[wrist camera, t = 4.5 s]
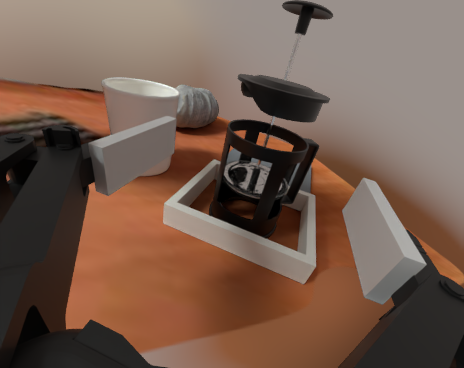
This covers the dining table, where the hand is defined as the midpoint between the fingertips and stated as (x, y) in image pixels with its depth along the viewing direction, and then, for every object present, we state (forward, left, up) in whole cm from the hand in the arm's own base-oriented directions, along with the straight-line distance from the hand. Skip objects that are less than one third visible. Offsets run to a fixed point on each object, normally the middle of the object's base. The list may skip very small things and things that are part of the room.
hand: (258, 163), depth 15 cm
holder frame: (+10, 0, -12) cm, 16 cm away
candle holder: (+13, +19, -13) cm, 26 cm away
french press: (+10, 0, -13) cm, 16 cm away
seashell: (+37, +23, -13) cm, 45 cm away
